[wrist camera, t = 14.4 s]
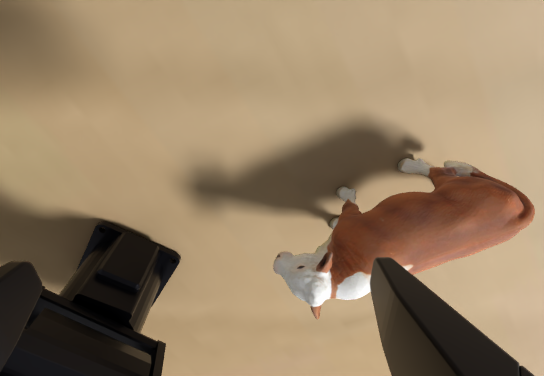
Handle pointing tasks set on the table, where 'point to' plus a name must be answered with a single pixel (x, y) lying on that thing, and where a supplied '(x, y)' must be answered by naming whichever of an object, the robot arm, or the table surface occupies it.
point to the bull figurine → (407, 231)
